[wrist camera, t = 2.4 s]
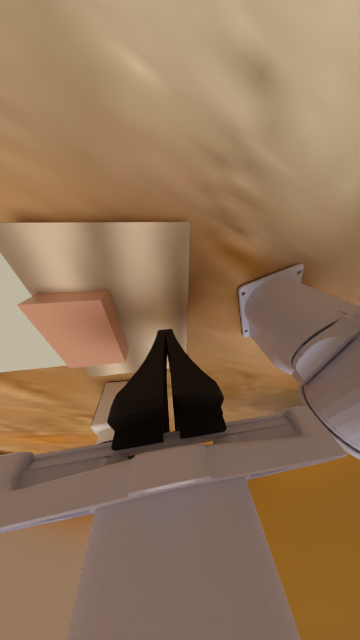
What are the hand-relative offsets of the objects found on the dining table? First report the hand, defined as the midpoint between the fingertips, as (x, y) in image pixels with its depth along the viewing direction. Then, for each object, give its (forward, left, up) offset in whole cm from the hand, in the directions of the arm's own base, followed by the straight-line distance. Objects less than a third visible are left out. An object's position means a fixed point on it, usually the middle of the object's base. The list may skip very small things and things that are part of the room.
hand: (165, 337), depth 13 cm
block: (+3, +7, -3) cm, 8 cm away
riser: (+1, +4, -6) cm, 7 cm away
